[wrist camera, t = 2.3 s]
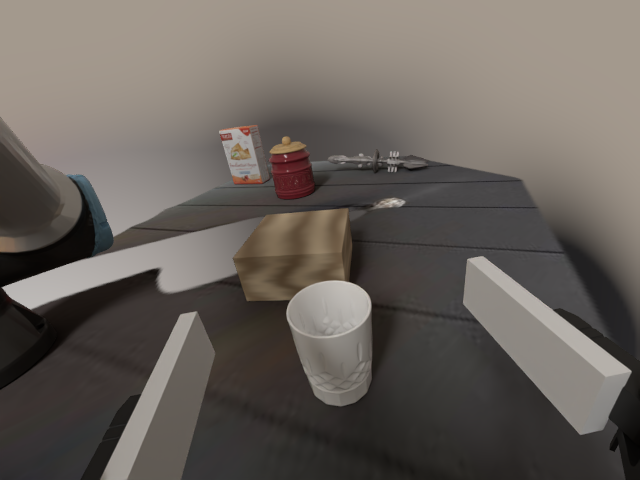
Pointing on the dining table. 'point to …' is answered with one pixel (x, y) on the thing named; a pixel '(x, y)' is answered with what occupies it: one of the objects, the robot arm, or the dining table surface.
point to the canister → (291, 170)
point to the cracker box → (245, 154)
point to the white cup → (333, 339)
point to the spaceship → (381, 161)
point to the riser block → (294, 253)
